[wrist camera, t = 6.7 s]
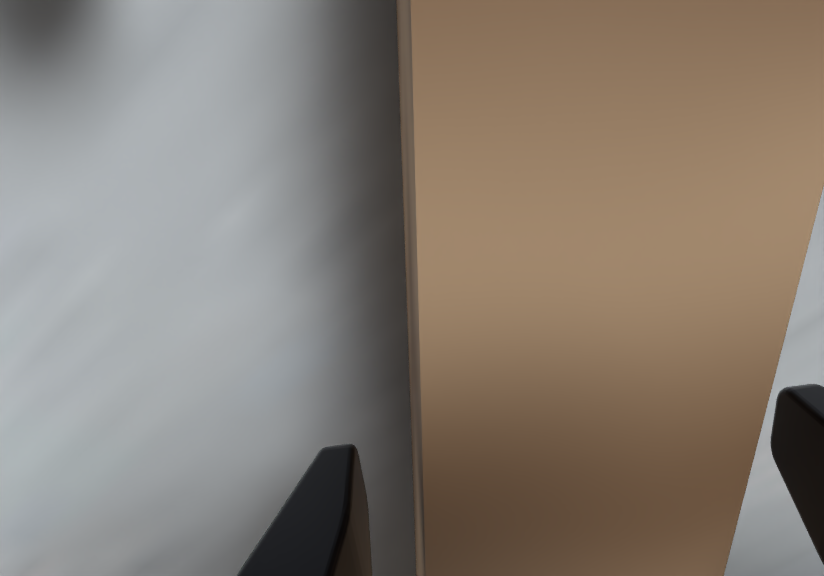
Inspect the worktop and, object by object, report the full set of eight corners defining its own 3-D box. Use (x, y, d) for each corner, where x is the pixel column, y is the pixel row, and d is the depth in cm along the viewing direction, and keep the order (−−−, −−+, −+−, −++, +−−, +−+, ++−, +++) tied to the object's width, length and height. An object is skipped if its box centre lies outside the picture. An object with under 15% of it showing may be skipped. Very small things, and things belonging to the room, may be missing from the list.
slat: (585, 642, 15) (649, 864, 12) (418, 652, 15) (433, 881, 12) (716, -342, 8) (1008, -535, 4) (383, -335, 8) (397, -528, 4)
